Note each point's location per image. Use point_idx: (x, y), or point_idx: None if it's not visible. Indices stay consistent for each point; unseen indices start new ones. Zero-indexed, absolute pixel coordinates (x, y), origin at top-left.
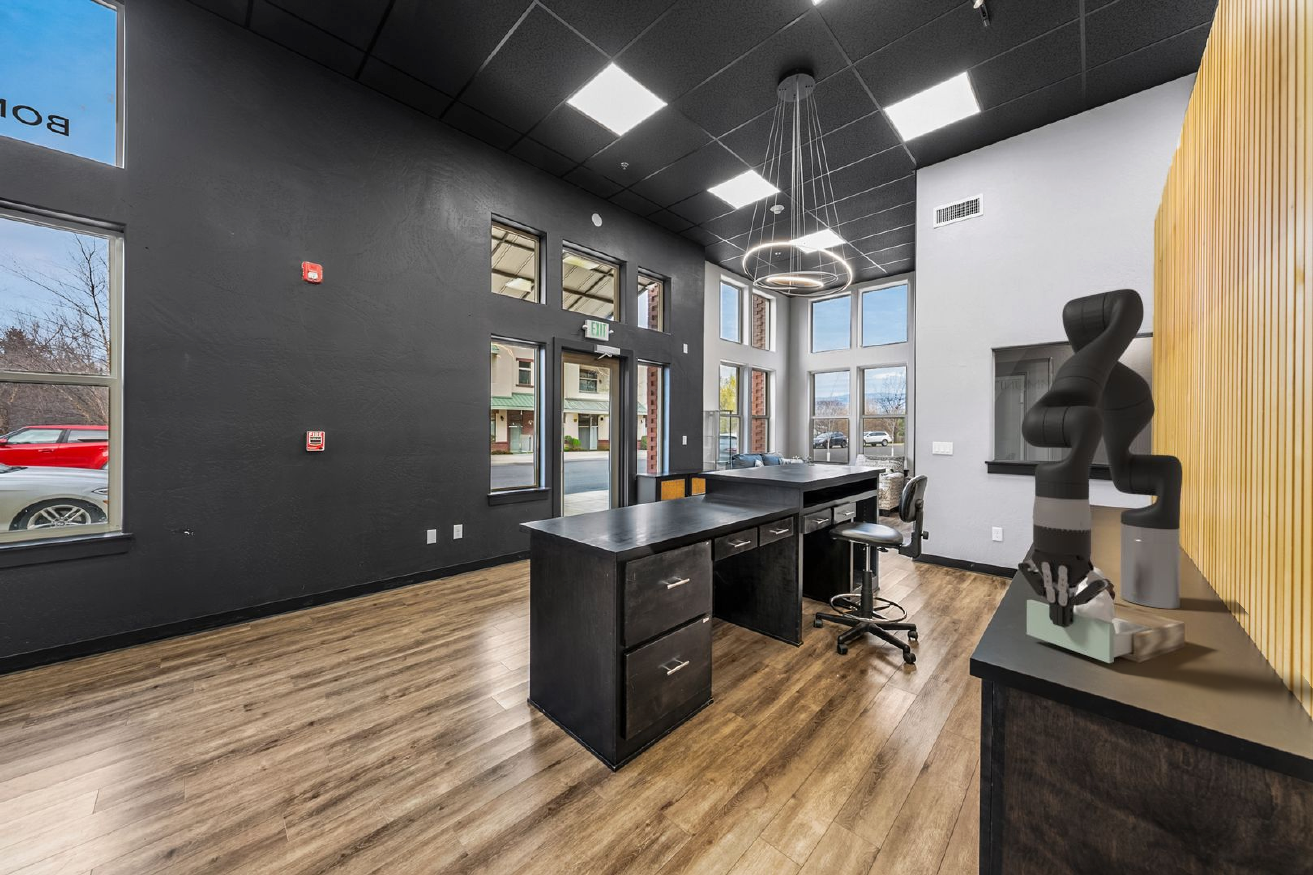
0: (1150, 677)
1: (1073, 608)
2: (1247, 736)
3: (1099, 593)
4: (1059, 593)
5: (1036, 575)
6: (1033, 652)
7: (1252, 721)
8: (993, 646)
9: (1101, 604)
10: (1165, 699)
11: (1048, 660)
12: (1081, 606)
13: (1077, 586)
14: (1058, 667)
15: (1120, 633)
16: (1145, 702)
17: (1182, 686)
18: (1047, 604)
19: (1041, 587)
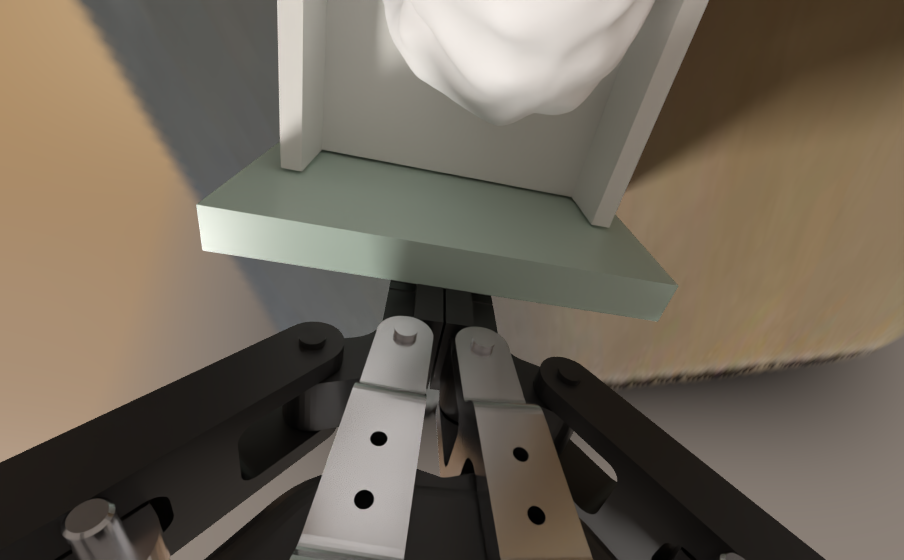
0: (695, 144)
1: (496, 332)
2: (827, 343)
3: (700, 463)
4: (440, 461)
5: (191, 490)
6: None
7: (882, 252)
8: (278, 312)
9: (637, 17)
10: (707, 291)
11: None
12: (489, 97)
13: (543, 443)
14: None
15: (668, 42)
16: (660, 345)
17: (781, 137)
18: (319, 232)
19: (304, 442)
